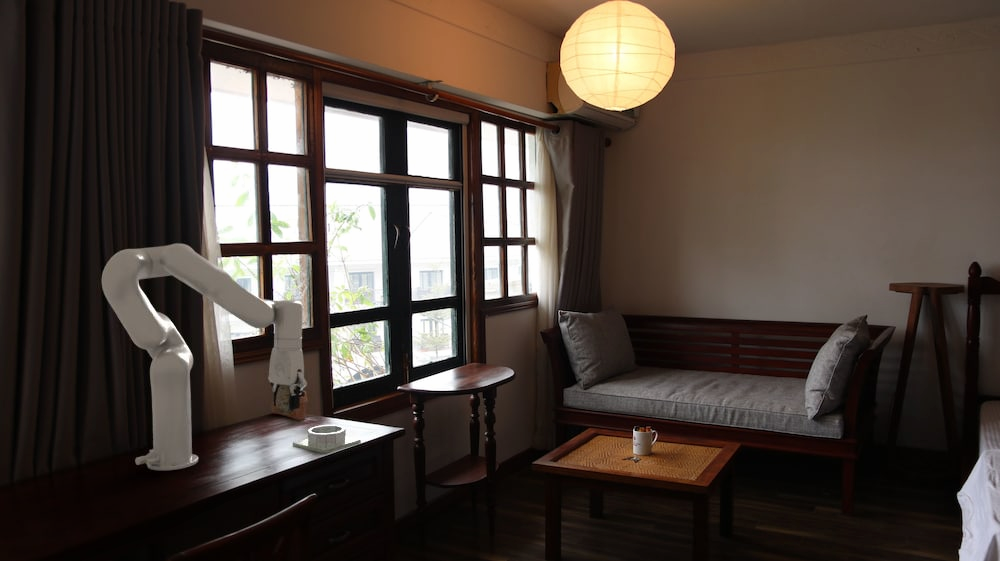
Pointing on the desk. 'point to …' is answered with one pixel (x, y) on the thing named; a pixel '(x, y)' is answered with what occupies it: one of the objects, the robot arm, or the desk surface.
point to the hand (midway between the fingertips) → (286, 406)
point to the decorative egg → (283, 399)
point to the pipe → (297, 413)
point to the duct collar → (326, 439)
